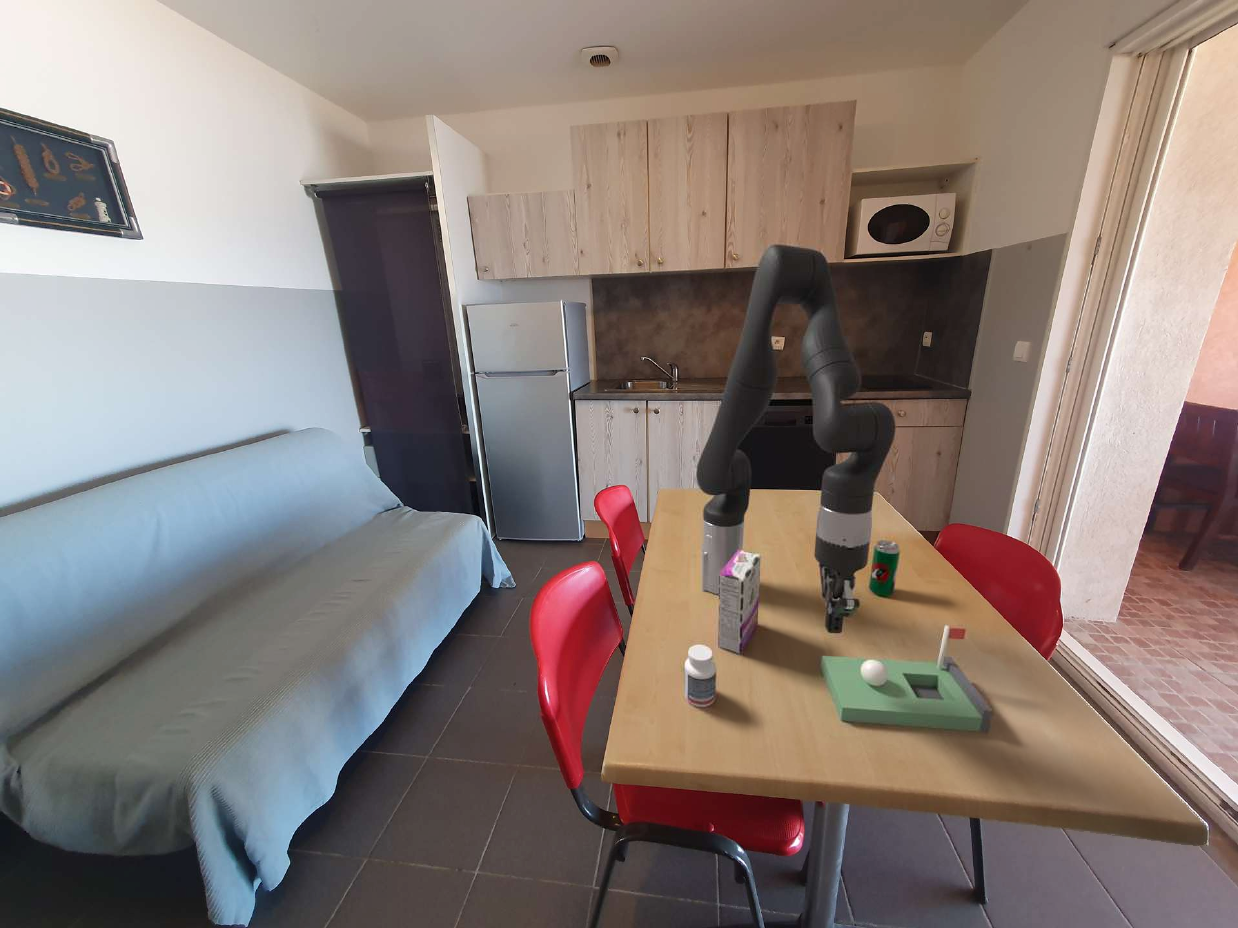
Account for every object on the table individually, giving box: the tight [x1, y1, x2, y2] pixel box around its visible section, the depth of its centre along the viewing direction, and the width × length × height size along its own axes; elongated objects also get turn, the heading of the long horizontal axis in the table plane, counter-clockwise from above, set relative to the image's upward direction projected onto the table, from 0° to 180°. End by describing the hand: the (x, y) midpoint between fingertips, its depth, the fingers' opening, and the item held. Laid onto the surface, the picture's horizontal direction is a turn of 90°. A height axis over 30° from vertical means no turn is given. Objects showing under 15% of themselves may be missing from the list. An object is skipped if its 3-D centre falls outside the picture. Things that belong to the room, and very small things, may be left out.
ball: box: [861, 660, 888, 686], centre depth 79 cm, size 4×4×4 cm
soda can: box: [868, 540, 901, 598], centre depth 108 cm, size 5×5×12 cm
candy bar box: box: [717, 549, 762, 655], centre depth 94 cm, size 11×5×16 cm, turn 148°
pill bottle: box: [683, 644, 717, 708], centre depth 80 cm, size 5×5×9 cm
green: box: [820, 624, 994, 733], centre depth 78 cm, size 22×12×11 cm, turn 82°
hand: (833, 630), depth 78 cm, fingers closed
